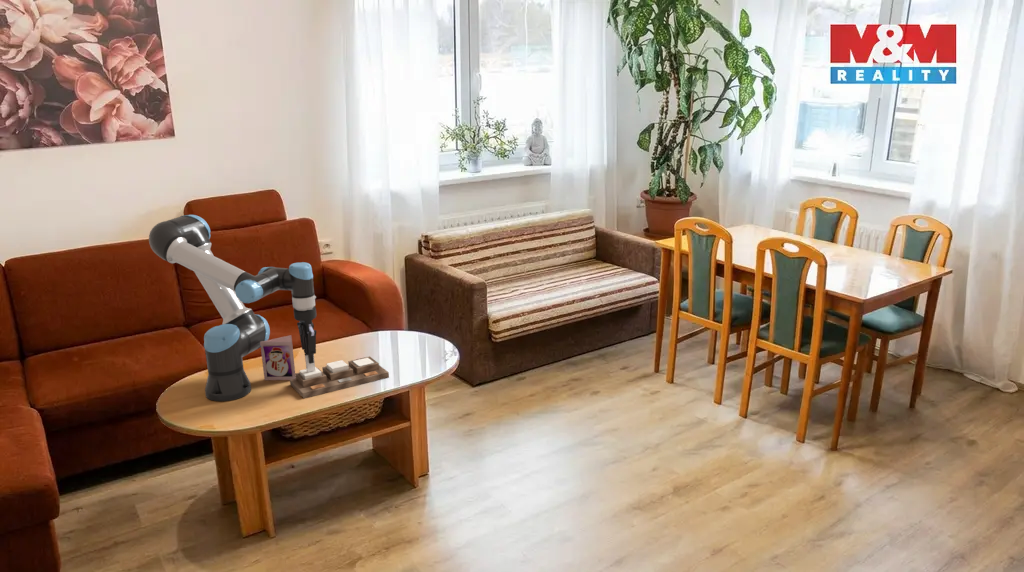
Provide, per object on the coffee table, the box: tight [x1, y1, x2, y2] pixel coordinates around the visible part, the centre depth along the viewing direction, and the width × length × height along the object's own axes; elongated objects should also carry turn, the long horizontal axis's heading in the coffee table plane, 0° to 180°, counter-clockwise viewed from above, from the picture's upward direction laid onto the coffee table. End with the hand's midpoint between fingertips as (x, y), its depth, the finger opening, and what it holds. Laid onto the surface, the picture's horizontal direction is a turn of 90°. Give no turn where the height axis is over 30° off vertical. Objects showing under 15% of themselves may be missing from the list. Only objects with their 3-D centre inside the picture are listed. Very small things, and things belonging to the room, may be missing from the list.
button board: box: [289, 355, 390, 400], centre depth 285 cm, size 32×14×4 cm, turn 123°
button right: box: [353, 357, 374, 367], centre depth 291 cm, size 6×6×2 cm
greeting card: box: [260, 334, 296, 381], centre depth 288 cm, size 11×7×15 cm, turn 90°
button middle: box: [325, 359, 349, 373], centre depth 286 cm, size 6×6×2 cm
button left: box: [299, 366, 323, 380], centre depth 281 cm, size 6×6×2 cm
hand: (310, 370), depth 280 cm, fingers closed
